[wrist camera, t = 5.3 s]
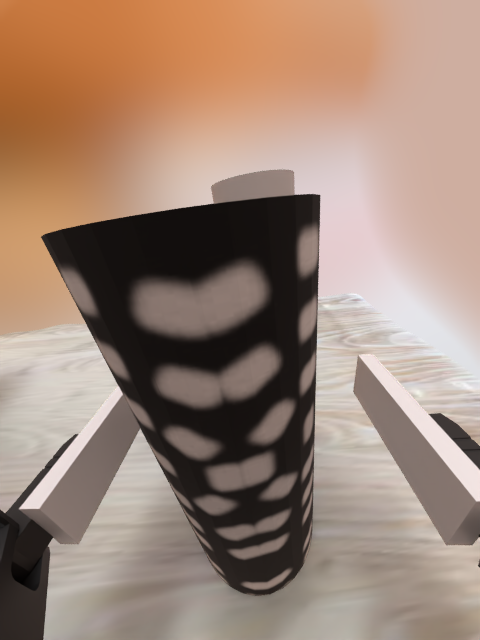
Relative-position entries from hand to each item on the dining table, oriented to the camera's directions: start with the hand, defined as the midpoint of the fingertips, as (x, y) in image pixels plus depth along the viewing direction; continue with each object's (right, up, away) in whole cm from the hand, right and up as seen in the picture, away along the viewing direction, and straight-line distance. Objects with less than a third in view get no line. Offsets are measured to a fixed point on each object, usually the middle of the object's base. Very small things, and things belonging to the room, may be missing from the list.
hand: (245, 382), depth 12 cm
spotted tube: (+1, -11, +3) cm, 11 cm away
